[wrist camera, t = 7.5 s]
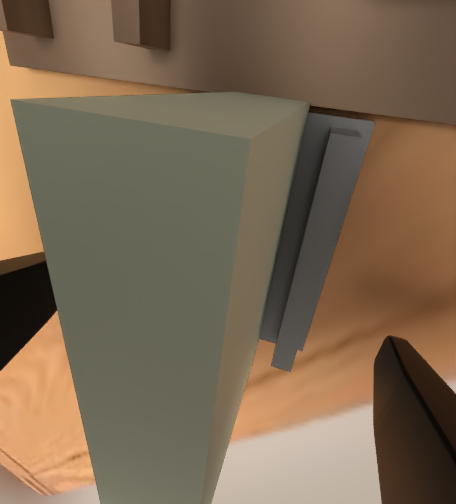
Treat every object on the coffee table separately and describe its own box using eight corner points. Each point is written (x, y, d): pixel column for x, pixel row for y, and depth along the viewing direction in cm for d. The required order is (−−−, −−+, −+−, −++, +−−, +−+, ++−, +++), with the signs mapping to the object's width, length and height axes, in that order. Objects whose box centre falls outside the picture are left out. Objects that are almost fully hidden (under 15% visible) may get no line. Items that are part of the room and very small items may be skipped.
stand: (372, 119, 10) (383, 127, 8) (303, 338, 14) (298, 379, 12) (184, 93, 11) (151, 95, 9) (178, 303, 16) (155, 334, 14)
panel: (310, 101, 9) (251, 138, 2) (259, 340, 14) (192, 568, 7) (234, 91, 10) (10, 99, 3) (210, 325, 15) (106, 528, 8)
